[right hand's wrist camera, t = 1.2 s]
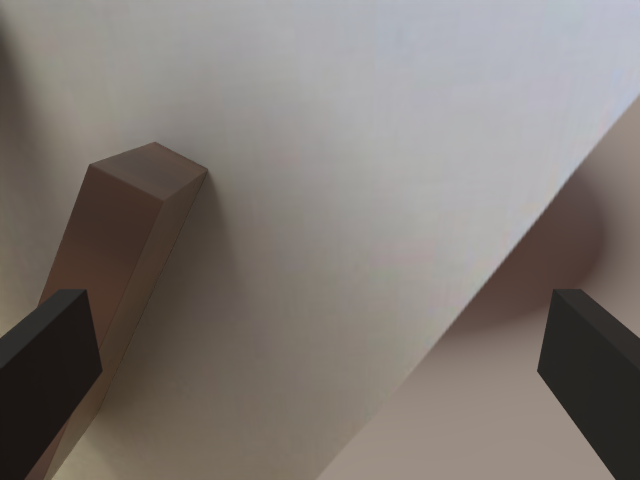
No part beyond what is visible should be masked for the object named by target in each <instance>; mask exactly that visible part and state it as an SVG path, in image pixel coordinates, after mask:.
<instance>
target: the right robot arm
mask: <svg viewBox="0 0 640 480" xmlns="http://www.w3.org/2000/svg"><path fill="white" fill-rule="evenodd" d="M102 372H103V369H102V364H101V359H100V354H99V349H98V344H97V339H96V334H95V329H94V324H93V319H92V314H91V309H90V304H89V299H88V294H87V289H59V290H58V291H56V292H55V293H54V294H53V295H52V296H50V297H49V298H48V299H47V300H46V301H44V302H43V303H42V304H41V305H40V306H38V307H37V308H36V309H35V310H34V311H33V312H31V313H30V314H29V315H28V316H27V317H25V318H24V319H23V320H22V321H21V322H19V323H18V324H17V325H16V326H15V327H13V328H12V329H11V330H10V331H9V332H7V333H6V334H5V335H4V336H3V337H1V338H0V480H24V479H25V478H26V477H27V475H28V474H29V473H30V471H31V470H32V468H33V467H34V466H35V464H36V463H37V461H38V460H39V459H40V457H41V456H42V455H43V453H44V452H45V450H46V449H47V448H48V446H49V445H50V444H51V442H52V441H53V439H54V438H55V437H56V435H57V434H58V432H59V431H60V430H61V428H62V427H63V426H64V424H65V423H66V421H67V420H68V419H69V417H70V416H71V415H72V413H73V412H74V410H75V409H76V408H77V406H78V405H79V403H80V402H81V401H82V399H83V398H84V397H85V395H86V394H87V392H88V391H89V390H90V388H91V387H92V386H93V384H94V383H95V381H96V380H97V379H98V377H99V376H100V374H101V373H102ZM537 372H538V373H539V374H540V376H541V377H542V379H543V380H544V381H545V383H546V384H547V386H548V387H549V388H550V390H551V391H552V392H553V394H554V395H555V397H556V398H557V399H558V401H559V402H560V403H561V405H562V406H563V408H564V409H565V410H566V412H567V413H568V415H569V416H570V417H571V419H572V420H573V421H574V423H575V424H576V425H577V427H578V428H579V430H580V431H581V432H582V434H583V435H584V437H585V438H586V439H587V441H588V442H589V444H590V445H591V446H592V448H593V449H594V450H595V452H596V453H597V455H598V456H599V457H600V459H601V460H602V461H603V463H604V464H605V466H606V467H607V468H608V470H609V471H610V473H611V474H612V475H613V477H614V478H615V479H616V480H640V338H639V337H637V336H636V335H635V334H634V333H632V332H631V331H630V330H629V329H628V328H627V327H625V326H624V325H623V324H622V323H621V322H619V321H618V320H617V319H616V318H615V317H613V316H612V315H611V314H610V313H609V312H607V311H606V310H605V309H604V308H603V307H601V306H600V305H599V304H598V303H597V302H595V301H594V300H593V299H592V298H591V297H590V296H588V295H587V294H586V293H585V292H584V291H582V290H581V289H553V294H552V299H551V304H550V309H549V314H548V319H547V324H546V329H545V334H544V339H543V344H542V349H541V354H540V359H539V364H538V369H537Z"/></svg>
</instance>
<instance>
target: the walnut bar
mask: <svg viewBox="0 0 640 480" xmlns="http://www.w3.org/2000/svg"><path fill="white" fill-rule="evenodd" d="M207 171H208V169H206V168H204V167H203V166H201V165H199V164H197V163H195V162H193V161H191V160H189V159H187V158H185V157H183V156H181V155H179V154H177V153H175V152H174V151H172V150H170V149H168V148H166V147H164V146H162V145H160V144H158V143H156V142H153V143H150V144H147V145H145V146H142V147H139V148H136V149H133V150H130V151H127V152H124V153H121V154H118V155H115V156H112V157H109V158H106V159H104V160H101V161H98V162H95V163H92V164H90V165H89V167H88V170H87V172H86V175H85V178H84V181H83V183H82V186H81V189H80V192H79V194H78V197H77V200H76V203H75V205H74V208H73V211H72V213H71V216H70V219H69V222H68V224H67V227H66V230H65V233H64V235H63V238H62V241H61V244H60V246H59V249H58V252H57V255H56V257H55V260H54V263H53V266H52V268H51V271H50V274H49V277H48V279H47V282H46V285H45V288H44V290H43V293H42V296H41V299H40V301H39V304H38V306H40V305H41V304H42V303H43V302H44V301H46V300H47V299H48V298H49V297H50V296H52V295H53V294H54V293H55V292H56V291H58V290H59V289H87V294H88V299H89V304H90V309H91V314H92V319H93V324H94V329H95V334H96V339H97V344H98V349H99V354H100V359H101V364H102V369H103V372H102V373H101V374H100V376H99V377H98V379H97V380H96V381H95V383H94V384H93V386H92V387H91V388H90V390H89V391H88V392H87V394H86V395H85V397H84V398H83V399H82V401H81V402H80V403H79V405H78V406H77V408H76V409H75V410H74V412H73V413H72V415H71V416H70V417H69V419H68V420H67V421H66V423H65V424H64V426H63V427H62V428H61V430H60V431H59V432H58V434H57V435H56V437H55V438H54V439H53V441H52V442H51V444H50V445H49V446H48V448H47V449H46V450H45V452H44V453H43V455H42V456H41V457H40V459H39V460H38V461H37V463H36V464H35V466H34V467H33V468H32V470H31V471H30V473H29V474H28V475H27V477H26V478H25V479H24V480H51V479H52V478H53V476H54V475H55V473H56V472H57V471H58V469H59V468H60V466H61V465H62V463H63V462H64V461H65V459H66V458H67V456H68V455H69V453H70V452H71V451H72V449H73V448H74V446H75V445H76V443H77V442H78V441H79V439H80V438H81V436H82V435H83V433H84V432H85V431H86V429H87V428H88V426H89V425H90V423H91V422H92V421H93V419H94V418H95V416H96V415H97V413H98V410H99V408H100V406H101V404H102V402H103V399H104V397H105V395H106V393H107V391H108V388H109V386H110V384H111V382H112V380H113V377H114V375H115V373H116V371H117V369H118V366H119V364H120V362H121V360H122V358H123V355H124V353H125V351H126V349H127V347H128V344H129V342H130V340H131V338H132V336H133V333H134V331H135V329H136V327H137V325H138V322H139V320H140V318H141V316H142V314H143V311H144V309H145V307H146V305H147V303H148V300H149V298H150V296H151V294H152V292H153V289H154V287H155V285H156V283H157V281H158V278H159V276H160V274H161V272H162V270H163V267H164V265H165V263H166V261H167V259H168V256H169V254H170V252H171V250H172V248H173V245H174V243H175V241H176V239H177V237H178V234H179V232H180V230H181V228H182V226H183V223H184V221H185V219H186V217H187V215H188V212H189V210H190V208H191V206H192V204H193V201H194V199H195V197H196V195H197V193H198V190H199V188H200V186H201V184H202V182H203V179H204V177H205V175H206V173H207Z"/></svg>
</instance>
